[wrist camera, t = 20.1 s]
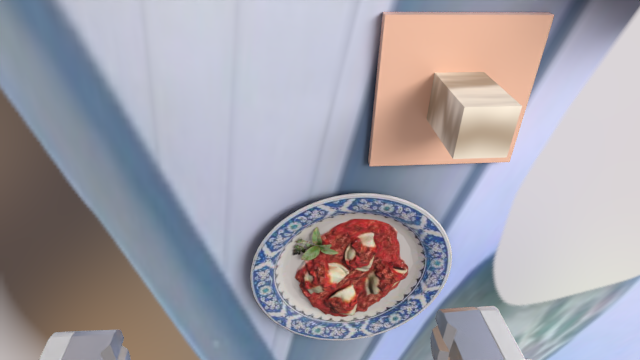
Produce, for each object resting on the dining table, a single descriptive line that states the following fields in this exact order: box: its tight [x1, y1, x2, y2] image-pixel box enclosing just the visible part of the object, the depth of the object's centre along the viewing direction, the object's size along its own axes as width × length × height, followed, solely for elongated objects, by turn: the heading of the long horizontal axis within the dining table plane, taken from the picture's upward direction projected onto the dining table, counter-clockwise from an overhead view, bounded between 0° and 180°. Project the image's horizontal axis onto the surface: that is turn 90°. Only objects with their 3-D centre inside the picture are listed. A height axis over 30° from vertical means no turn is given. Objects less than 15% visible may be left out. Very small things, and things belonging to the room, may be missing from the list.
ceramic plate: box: [250, 193, 452, 340], centre depth 57 cm, size 26×26×3 cm
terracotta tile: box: [368, 12, 554, 166], centre depth 46 cm, size 16×16×1 cm
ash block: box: [427, 72, 522, 159], centre depth 42 cm, size 5×5×8 cm
